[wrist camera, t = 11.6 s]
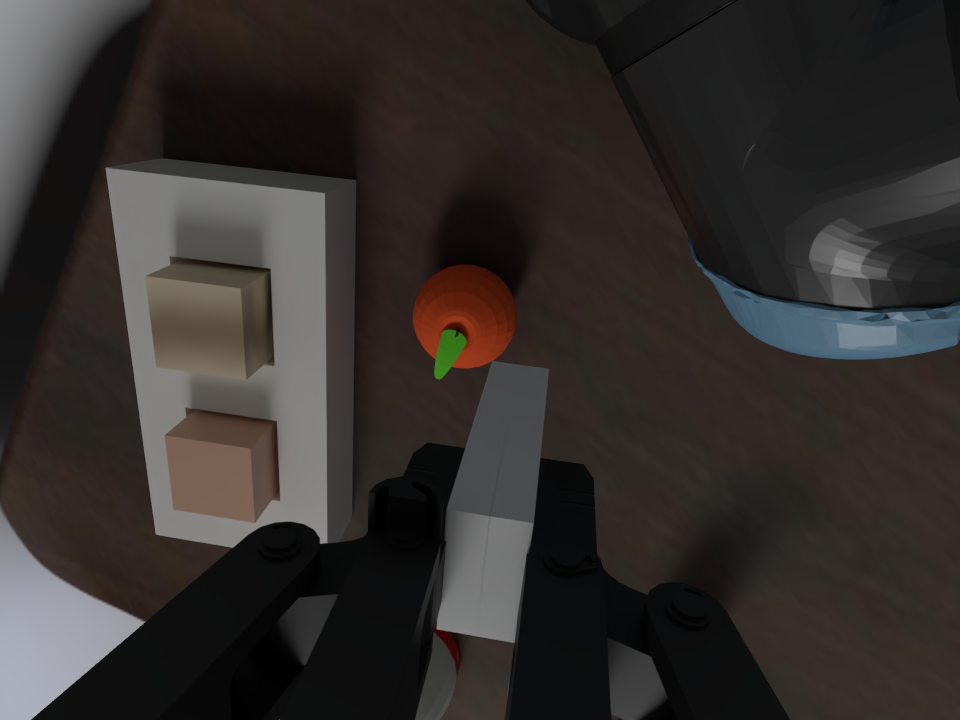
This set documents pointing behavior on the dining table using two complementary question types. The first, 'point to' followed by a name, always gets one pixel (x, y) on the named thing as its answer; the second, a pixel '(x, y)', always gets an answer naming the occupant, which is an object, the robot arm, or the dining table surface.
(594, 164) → the dining table surface
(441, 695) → the kitchen timer
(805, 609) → the dining table surface
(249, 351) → the beige cube
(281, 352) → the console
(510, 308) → the clementine
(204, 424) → the pink cube block
